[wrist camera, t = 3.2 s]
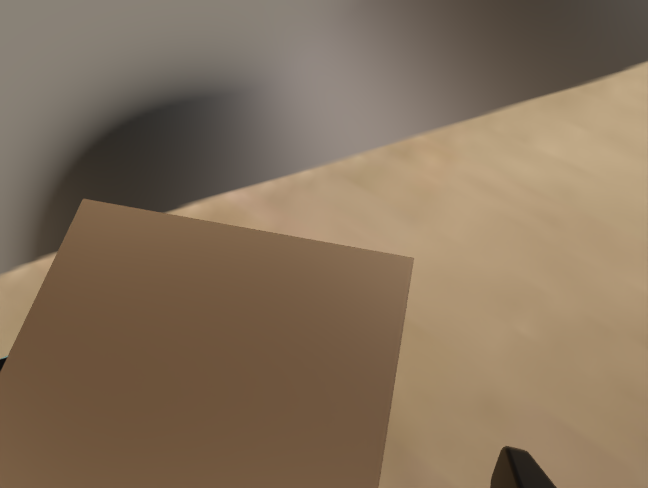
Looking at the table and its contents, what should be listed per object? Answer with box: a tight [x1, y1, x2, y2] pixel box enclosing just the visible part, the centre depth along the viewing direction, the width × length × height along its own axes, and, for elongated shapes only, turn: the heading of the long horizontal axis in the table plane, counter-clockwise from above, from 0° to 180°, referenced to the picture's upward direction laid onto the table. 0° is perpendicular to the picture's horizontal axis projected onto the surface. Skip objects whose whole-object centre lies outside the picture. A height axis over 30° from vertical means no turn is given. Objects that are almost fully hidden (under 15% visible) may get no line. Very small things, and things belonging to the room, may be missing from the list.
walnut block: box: [0, 199, 414, 488], centre depth 10 cm, size 4×4×12 cm
